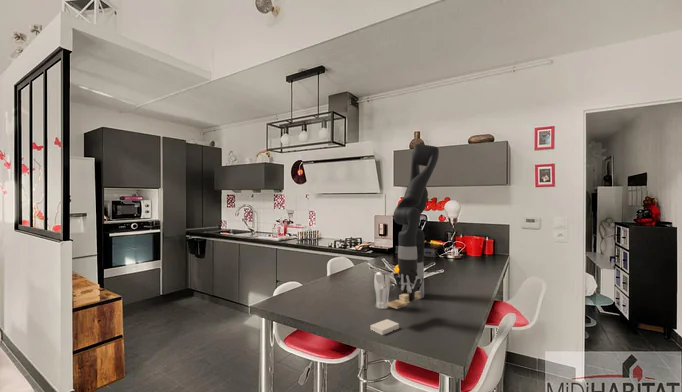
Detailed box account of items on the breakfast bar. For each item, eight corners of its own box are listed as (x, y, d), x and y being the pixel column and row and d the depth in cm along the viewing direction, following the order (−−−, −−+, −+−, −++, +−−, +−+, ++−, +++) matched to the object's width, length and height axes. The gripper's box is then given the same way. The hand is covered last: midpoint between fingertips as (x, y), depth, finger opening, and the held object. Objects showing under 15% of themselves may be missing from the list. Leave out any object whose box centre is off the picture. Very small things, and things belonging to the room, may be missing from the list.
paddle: (412, 296, 129) (412, 289, 129) (422, 299, 125) (422, 292, 125) (386, 305, 119) (386, 297, 119) (396, 308, 115) (396, 300, 115)
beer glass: (372, 308, 136) (372, 274, 137) (376, 303, 143) (376, 271, 143) (388, 310, 134) (388, 275, 134) (391, 305, 140) (391, 272, 141)
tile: (387, 324, 120) (370, 331, 114) (387, 319, 120) (370, 325, 114) (399, 329, 115) (382, 336, 109) (399, 323, 115) (382, 330, 109)
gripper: (388, 256, 127) (388, 298, 126) (416, 260, 116) (417, 307, 115) (400, 253, 131) (400, 294, 131) (428, 258, 121) (428, 302, 120)
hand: (408, 300), depth 123 cm, fingers closed on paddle, 2 cm apart
